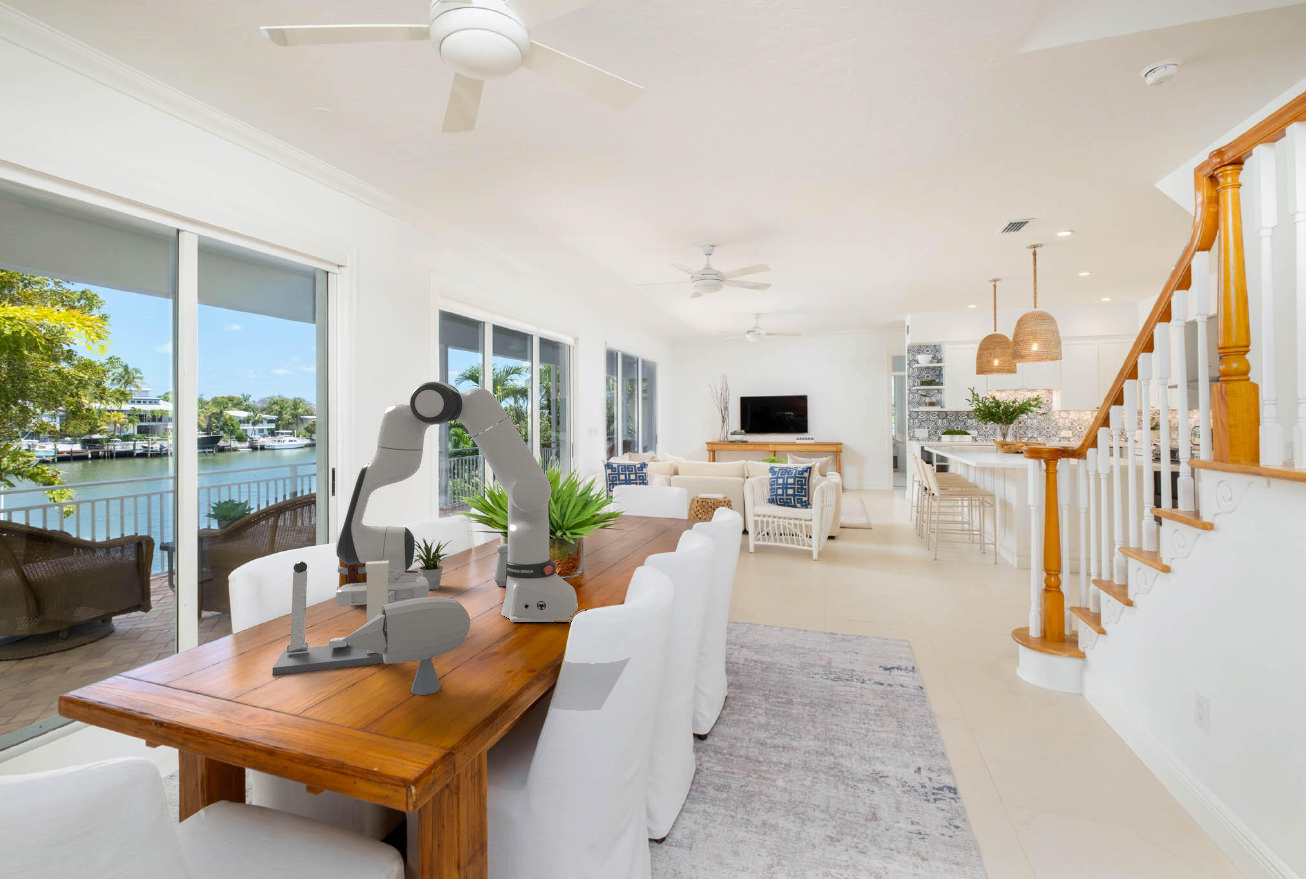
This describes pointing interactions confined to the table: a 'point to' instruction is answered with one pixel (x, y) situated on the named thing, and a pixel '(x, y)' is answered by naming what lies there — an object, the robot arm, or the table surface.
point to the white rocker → (337, 642)
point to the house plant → (431, 564)
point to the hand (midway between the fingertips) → (381, 601)
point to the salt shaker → (501, 565)
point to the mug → (351, 573)
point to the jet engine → (415, 635)
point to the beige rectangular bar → (376, 588)
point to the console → (325, 659)
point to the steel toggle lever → (298, 609)
